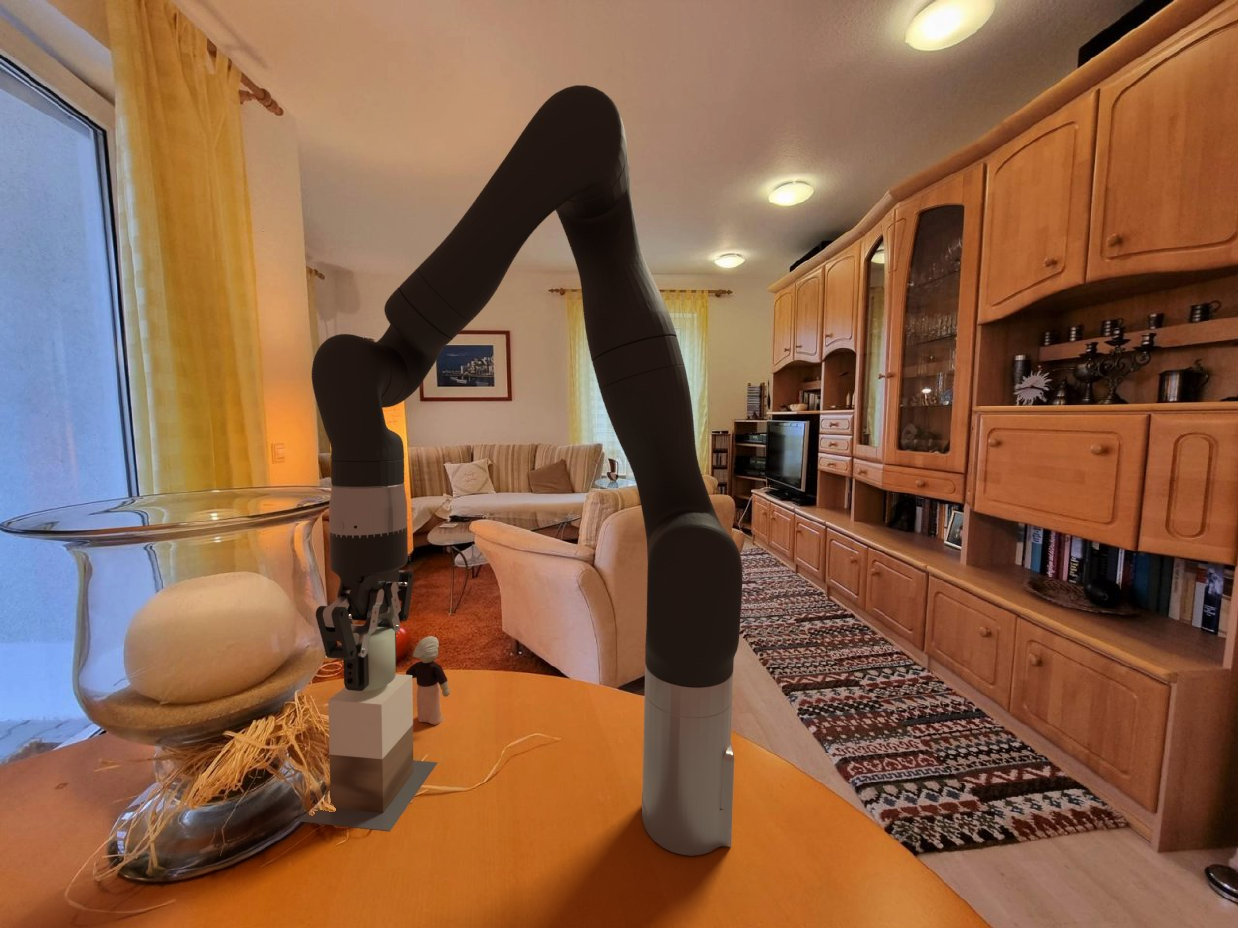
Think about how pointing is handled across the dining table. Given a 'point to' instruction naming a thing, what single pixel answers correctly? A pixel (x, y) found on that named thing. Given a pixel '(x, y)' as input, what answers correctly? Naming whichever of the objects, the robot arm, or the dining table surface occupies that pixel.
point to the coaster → (373, 818)
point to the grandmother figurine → (428, 681)
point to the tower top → (370, 719)
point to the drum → (380, 657)
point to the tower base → (371, 777)
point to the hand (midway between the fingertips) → (372, 675)
